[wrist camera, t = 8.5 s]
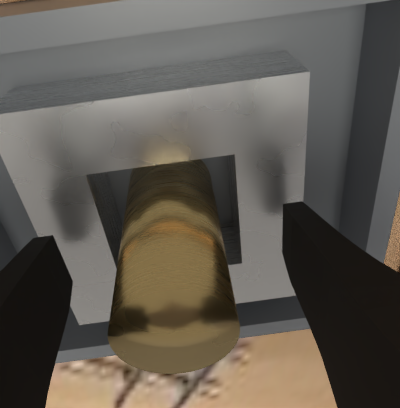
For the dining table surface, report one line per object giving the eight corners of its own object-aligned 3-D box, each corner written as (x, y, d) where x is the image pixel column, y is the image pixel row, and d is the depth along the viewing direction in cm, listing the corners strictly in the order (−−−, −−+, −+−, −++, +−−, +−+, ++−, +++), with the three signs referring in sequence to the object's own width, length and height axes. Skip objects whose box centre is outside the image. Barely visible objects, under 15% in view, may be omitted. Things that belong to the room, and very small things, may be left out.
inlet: (286, 49, 12) (309, 71, 10) (282, 253, 18) (298, 295, 16) (12, 87, 12) (-18, 116, 10) (89, 280, 18) (79, 325, 16)
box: (383, -50, 12) (452, -45, 9) (340, 265, 20) (370, 320, 17) (-111, 19, 12) (-197, 44, 9) (41, 305, 20) (20, 367, 17)
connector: (206, 141, 14) (235, 280, 8) (215, 211, 16) (243, 364, 10) (120, 154, 14) (90, 301, 8) (139, 222, 16) (125, 381, 10)
